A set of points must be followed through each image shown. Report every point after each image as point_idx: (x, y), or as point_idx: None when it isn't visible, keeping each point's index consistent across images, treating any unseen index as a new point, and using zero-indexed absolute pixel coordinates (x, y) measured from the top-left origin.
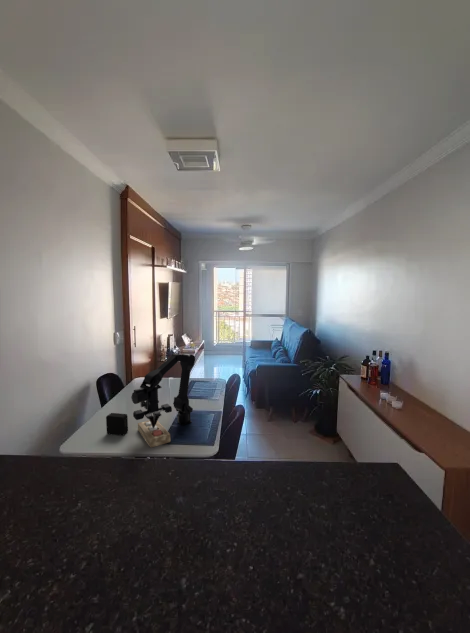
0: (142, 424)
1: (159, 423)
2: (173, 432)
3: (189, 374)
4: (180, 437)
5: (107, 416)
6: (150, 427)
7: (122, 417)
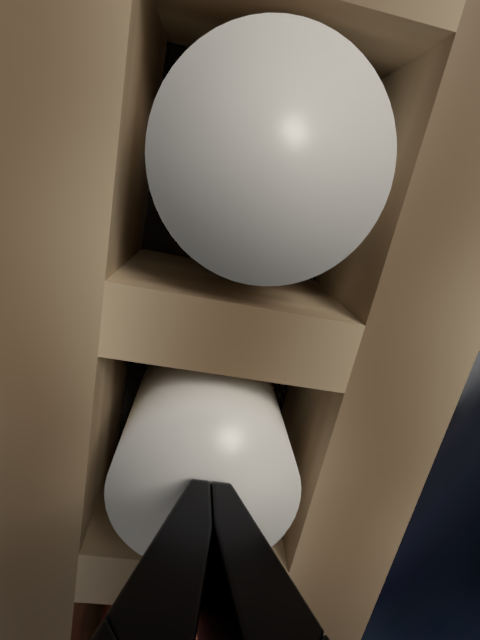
0: (67, 21)
1: (461, 346)
2: (469, 484)
3: None
4: (427, 626)
5: None
6: (146, 459)
7: None
